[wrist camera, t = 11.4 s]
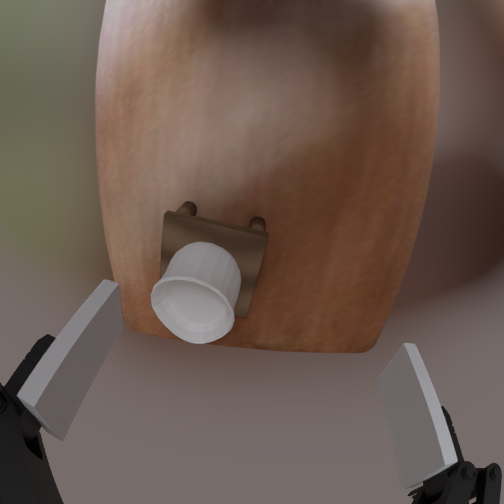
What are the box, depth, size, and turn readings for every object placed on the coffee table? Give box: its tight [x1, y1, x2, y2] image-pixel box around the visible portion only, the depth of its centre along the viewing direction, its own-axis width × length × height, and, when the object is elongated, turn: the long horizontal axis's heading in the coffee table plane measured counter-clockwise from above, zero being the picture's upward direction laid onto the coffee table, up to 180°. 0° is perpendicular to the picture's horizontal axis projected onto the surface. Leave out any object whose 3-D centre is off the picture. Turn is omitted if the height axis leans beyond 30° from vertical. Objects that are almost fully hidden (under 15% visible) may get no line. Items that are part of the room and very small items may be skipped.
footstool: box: [160, 201, 268, 318], centre depth 42 cm, size 14×14×8 cm
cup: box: [151, 242, 241, 344], centre depth 34 cm, size 10×10×10 cm
